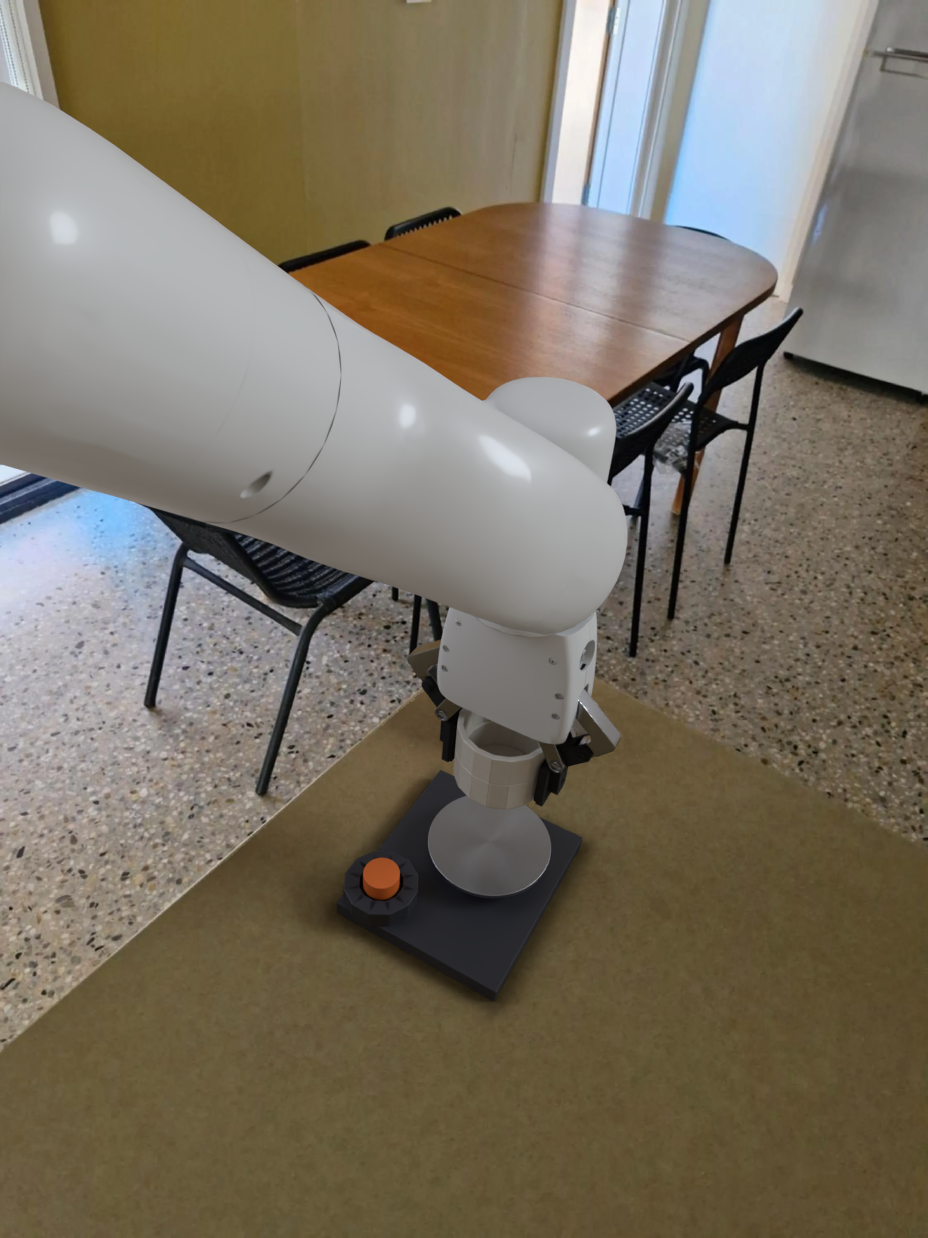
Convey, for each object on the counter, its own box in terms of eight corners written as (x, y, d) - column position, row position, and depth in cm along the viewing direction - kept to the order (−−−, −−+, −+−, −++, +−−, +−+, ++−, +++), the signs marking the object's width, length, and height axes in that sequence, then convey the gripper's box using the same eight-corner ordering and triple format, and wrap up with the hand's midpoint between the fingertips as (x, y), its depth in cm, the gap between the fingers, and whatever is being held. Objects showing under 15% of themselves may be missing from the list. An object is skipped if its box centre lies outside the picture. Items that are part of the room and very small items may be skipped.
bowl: (519, 828, 63) (528, 776, 60) (436, 787, 65) (440, 735, 62) (559, 765, 68) (570, 714, 64) (480, 729, 70) (486, 678, 67)
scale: (492, 1006, 65) (495, 985, 63) (330, 914, 69) (329, 892, 68) (580, 847, 76) (585, 825, 74) (436, 778, 81) (438, 755, 79)
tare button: (386, 906, 67) (386, 894, 66) (356, 889, 68) (355, 877, 67) (406, 879, 69) (406, 867, 68) (376, 863, 70) (376, 851, 69)
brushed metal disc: (516, 920, 67) (517, 917, 67) (404, 861, 70) (404, 858, 70) (570, 828, 74) (570, 825, 74) (465, 778, 77) (465, 775, 77)
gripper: (679, 598, 55) (626, 786, 66) (436, 509, 61) (426, 696, 72) (636, 667, 49) (587, 858, 61) (375, 563, 55) (374, 755, 67)
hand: (500, 769), depth 66 cm, fingers closed on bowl, 7 cm apart
